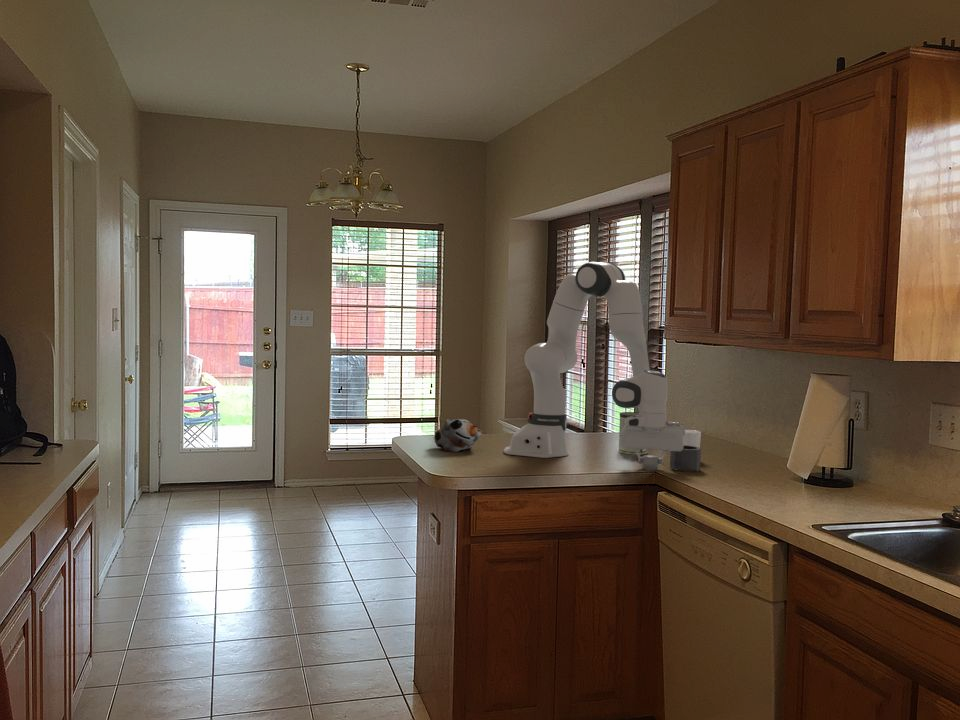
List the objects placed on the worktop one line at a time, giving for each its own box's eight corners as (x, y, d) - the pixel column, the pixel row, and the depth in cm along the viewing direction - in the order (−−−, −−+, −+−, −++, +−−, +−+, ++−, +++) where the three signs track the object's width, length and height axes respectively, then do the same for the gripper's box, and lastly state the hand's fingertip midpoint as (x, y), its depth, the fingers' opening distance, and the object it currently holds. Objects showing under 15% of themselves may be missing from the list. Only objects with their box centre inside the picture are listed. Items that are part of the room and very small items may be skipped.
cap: (642, 469, 269) (643, 457, 269) (642, 467, 274) (642, 454, 274) (658, 470, 268) (658, 458, 268) (658, 468, 273) (658, 455, 273)
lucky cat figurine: (472, 446, 304) (485, 415, 298) (471, 464, 293) (485, 432, 288) (433, 433, 302) (445, 402, 296) (431, 452, 291) (444, 419, 285)
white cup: (700, 462, 285) (701, 433, 285) (676, 461, 287) (677, 432, 286) (699, 458, 293) (700, 430, 293) (675, 457, 295) (677, 429, 294)
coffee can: (617, 449, 308) (618, 411, 307) (645, 450, 307) (647, 412, 306) (619, 454, 298) (620, 414, 297) (648, 455, 297) (650, 415, 296)
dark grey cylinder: (670, 470, 269) (671, 448, 269) (669, 465, 278) (670, 444, 278) (700, 472, 267) (701, 450, 267) (698, 467, 276) (699, 446, 276)
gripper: (685, 421, 271) (683, 463, 272) (621, 418, 275) (619, 459, 276) (686, 423, 265) (684, 467, 266) (620, 420, 269) (618, 463, 270)
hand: (650, 463), depth 271 cm, fingers closed on cap, 5 cm apart
